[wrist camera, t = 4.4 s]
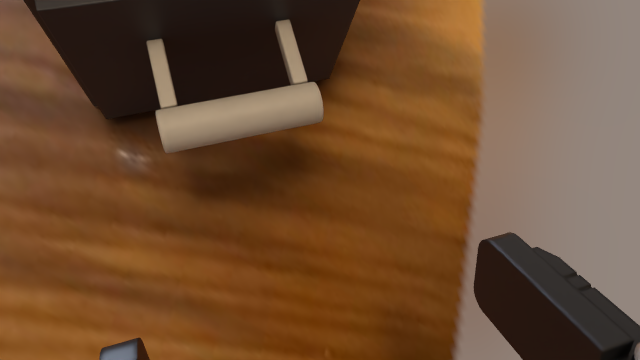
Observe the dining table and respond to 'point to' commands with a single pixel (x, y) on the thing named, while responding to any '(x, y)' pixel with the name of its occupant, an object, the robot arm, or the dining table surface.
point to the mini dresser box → (203, 61)
